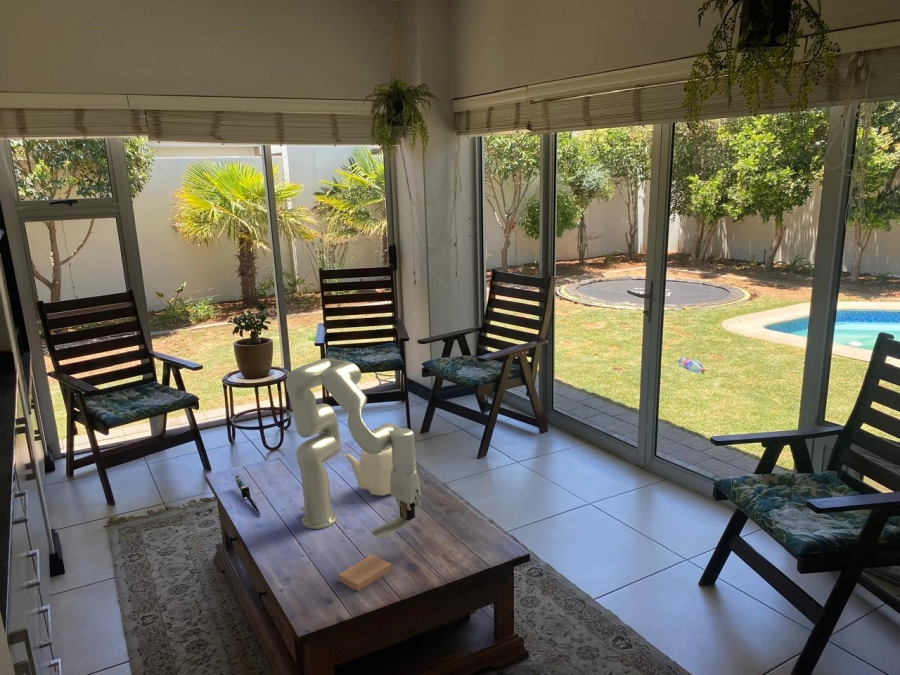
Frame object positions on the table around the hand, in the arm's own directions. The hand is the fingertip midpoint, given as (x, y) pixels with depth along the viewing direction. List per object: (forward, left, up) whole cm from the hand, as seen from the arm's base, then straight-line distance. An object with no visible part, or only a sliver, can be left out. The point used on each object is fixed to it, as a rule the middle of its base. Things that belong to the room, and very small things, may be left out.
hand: (407, 517), depth 223 cm
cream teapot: (-40, +23, -12) cm, 48 cm away
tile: (0, -13, -10) cm, 16 cm away
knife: (-74, -15, -12) cm, 77 cm away
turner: (0, -6, -1) cm, 6 cm away
